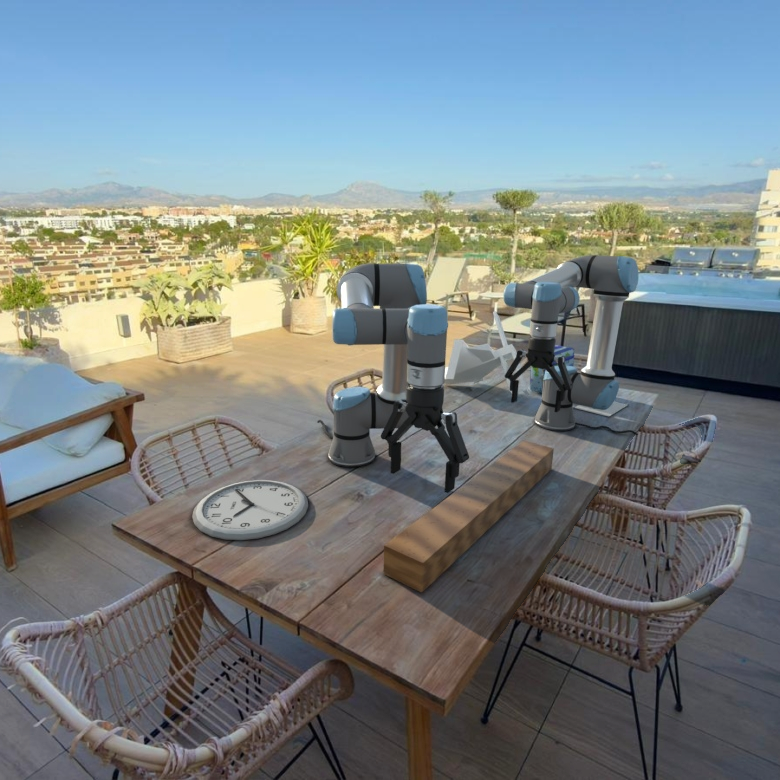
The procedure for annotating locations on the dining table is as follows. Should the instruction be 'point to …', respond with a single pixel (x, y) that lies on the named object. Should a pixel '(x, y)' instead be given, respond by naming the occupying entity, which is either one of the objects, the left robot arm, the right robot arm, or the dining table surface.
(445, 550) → the wide beam
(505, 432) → the dining table surface
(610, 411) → the invitation card
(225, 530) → the wall clock
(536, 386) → the lunch box
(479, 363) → the white plastic object
